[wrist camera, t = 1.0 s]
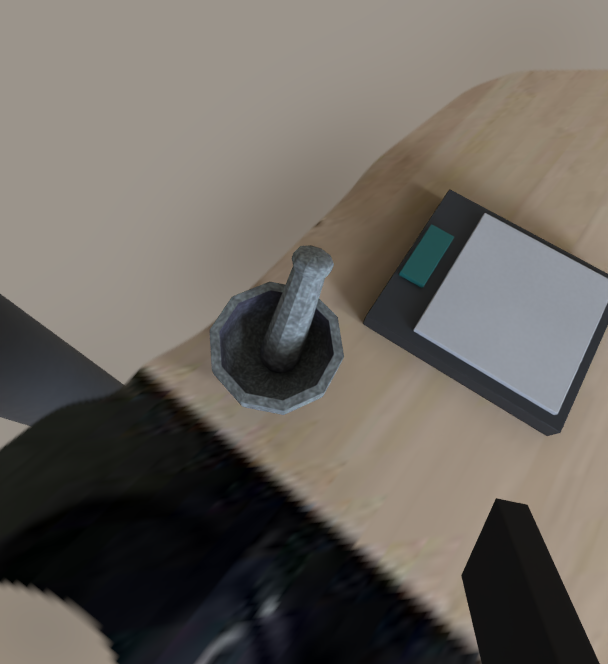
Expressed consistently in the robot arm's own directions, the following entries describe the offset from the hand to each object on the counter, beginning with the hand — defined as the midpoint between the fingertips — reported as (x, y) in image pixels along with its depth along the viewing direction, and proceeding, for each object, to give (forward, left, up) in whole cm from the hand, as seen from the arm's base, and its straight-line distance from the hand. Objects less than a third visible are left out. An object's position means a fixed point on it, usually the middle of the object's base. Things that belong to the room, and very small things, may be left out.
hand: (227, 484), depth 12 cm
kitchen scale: (+8, +25, -26) cm, 36 cm away
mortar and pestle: (-5, +10, -26) cm, 28 cm away
